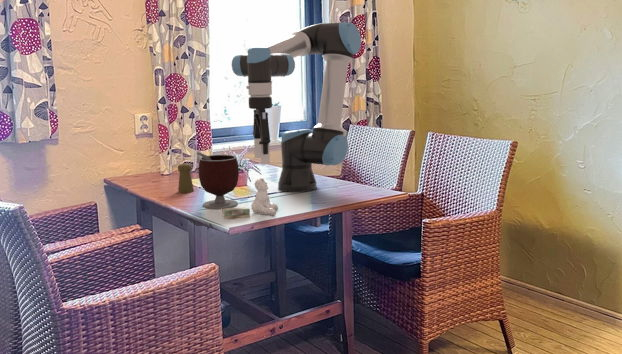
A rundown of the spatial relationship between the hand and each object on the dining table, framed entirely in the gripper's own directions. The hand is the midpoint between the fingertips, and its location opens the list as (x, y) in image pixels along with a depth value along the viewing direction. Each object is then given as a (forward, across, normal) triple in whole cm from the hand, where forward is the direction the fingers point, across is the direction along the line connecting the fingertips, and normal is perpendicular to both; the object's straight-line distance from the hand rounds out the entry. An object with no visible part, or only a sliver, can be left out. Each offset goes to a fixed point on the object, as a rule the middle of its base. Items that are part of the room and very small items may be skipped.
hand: (262, 161), depth 206 cm
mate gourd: (+18, -15, -14) cm, 27 cm away
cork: (+18, -43, -24) cm, 52 cm away
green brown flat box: (+18, -1, -9) cm, 20 cm away
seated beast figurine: (+18, 0, 0) cm, 18 cm away
